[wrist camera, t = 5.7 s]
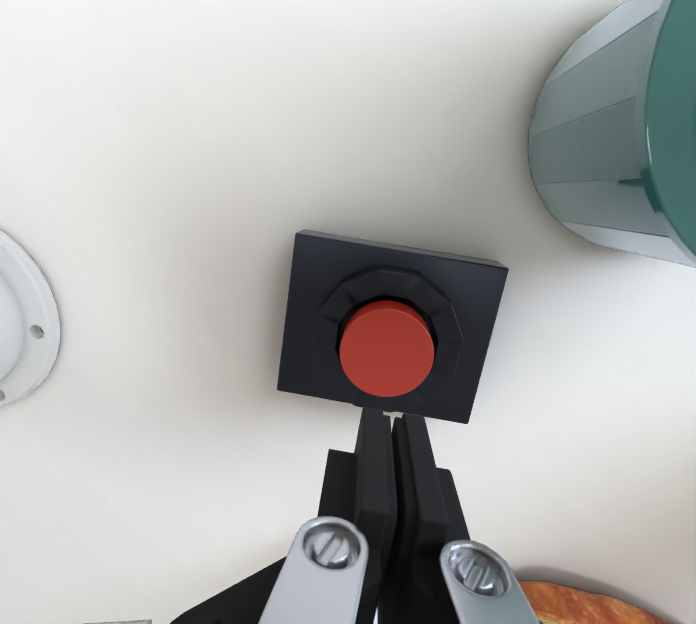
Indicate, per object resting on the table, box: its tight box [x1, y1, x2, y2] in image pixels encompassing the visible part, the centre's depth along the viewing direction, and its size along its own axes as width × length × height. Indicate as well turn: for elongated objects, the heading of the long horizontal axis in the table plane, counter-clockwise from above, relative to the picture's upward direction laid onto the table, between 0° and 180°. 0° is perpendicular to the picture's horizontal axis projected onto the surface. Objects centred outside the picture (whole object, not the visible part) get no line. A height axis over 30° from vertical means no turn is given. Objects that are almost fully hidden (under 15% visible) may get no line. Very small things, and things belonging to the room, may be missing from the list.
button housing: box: [277, 230, 509, 424], centre depth 23 cm, size 11×9×4 cm
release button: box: [340, 300, 434, 397], centre depth 21 cm, size 4×4×2 cm
